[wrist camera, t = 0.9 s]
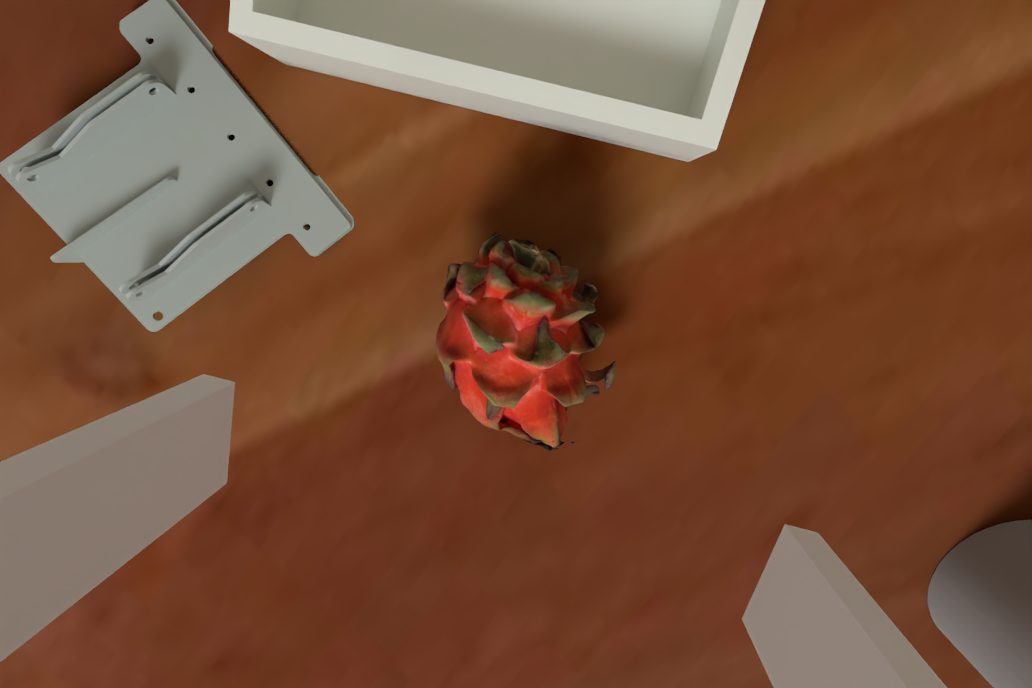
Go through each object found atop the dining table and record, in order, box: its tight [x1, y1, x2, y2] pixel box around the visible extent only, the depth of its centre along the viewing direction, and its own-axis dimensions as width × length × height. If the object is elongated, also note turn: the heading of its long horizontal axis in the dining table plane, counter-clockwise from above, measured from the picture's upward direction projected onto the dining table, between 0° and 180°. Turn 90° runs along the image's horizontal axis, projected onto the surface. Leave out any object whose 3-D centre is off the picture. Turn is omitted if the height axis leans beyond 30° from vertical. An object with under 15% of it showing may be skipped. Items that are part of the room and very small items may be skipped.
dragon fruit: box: [436, 232, 615, 451], centre depth 25 cm, size 8×8×12 cm
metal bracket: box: [0, 0, 354, 332], centre depth 27 cm, size 14×6×15 cm
